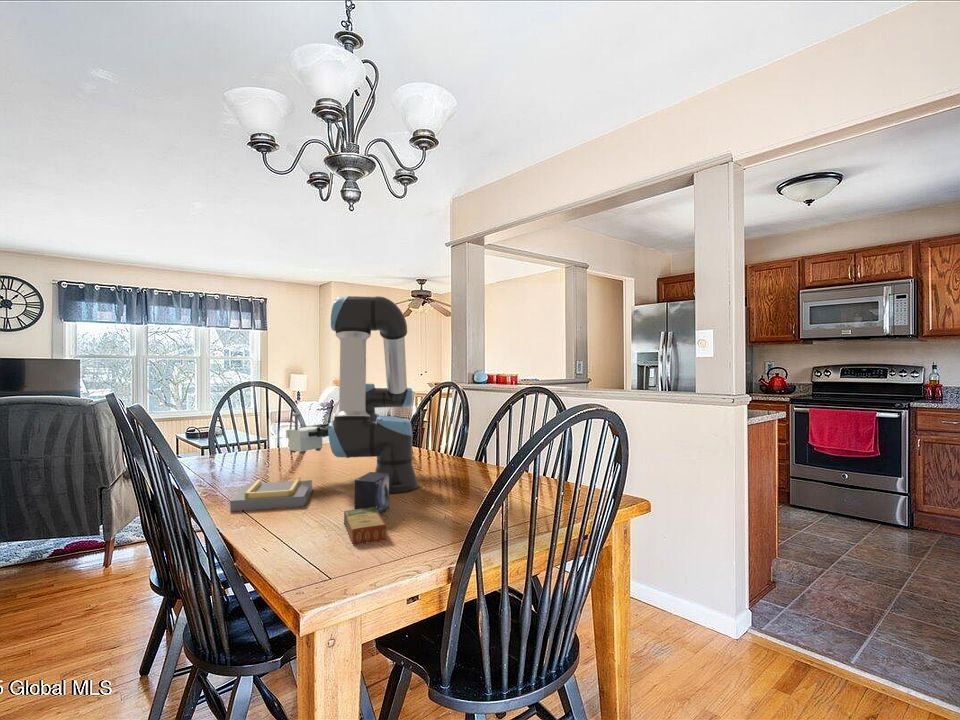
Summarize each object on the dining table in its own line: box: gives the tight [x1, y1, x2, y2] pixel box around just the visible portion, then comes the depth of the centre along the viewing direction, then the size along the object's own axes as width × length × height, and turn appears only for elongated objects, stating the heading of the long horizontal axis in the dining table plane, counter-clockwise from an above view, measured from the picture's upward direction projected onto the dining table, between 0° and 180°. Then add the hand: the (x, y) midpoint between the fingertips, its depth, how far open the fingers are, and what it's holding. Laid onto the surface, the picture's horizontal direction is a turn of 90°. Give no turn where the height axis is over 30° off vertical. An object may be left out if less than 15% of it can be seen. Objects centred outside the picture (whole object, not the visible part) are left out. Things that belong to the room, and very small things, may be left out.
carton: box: [343, 507, 388, 545], centre depth 129 cm, size 8×16×4 cm, turn 21°
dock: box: [229, 477, 313, 512], centre depth 159 cm, size 20×20×4 cm
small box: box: [353, 471, 390, 516], centre depth 144 cm, size 11×6×10 cm, turn 168°
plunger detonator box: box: [288, 412, 323, 455], centre depth 178 cm, size 6×9×14 cm, turn 146°
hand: (293, 434), depth 174 cm, fingers closed on plunger detonator box, 6 cm apart
